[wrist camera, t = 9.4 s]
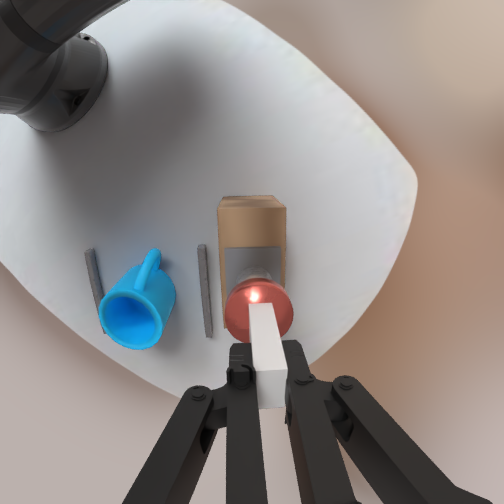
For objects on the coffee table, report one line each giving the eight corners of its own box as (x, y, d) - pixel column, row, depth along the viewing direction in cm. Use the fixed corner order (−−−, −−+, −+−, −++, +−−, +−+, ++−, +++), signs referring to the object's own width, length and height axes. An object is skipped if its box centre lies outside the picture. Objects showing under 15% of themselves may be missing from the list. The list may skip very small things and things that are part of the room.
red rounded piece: (225, 257, 23) (222, 287, 18) (281, 256, 23) (295, 284, 18) (228, 307, 24) (226, 346, 19) (280, 305, 25) (291, 343, 19)
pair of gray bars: (89, 249, 35) (84, 252, 33) (205, 244, 35) (203, 248, 34) (107, 328, 38) (103, 333, 37) (212, 331, 39) (211, 337, 38)
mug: (167, 324, 39) (154, 359, 31) (117, 303, 37) (95, 333, 30) (192, 252, 36) (180, 276, 28) (136, 229, 34) (110, 247, 26)
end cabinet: (227, 287, 37) (223, 331, 27) (223, 196, 34) (216, 210, 23) (272, 286, 37) (283, 329, 27) (272, 195, 34) (287, 208, 24)
